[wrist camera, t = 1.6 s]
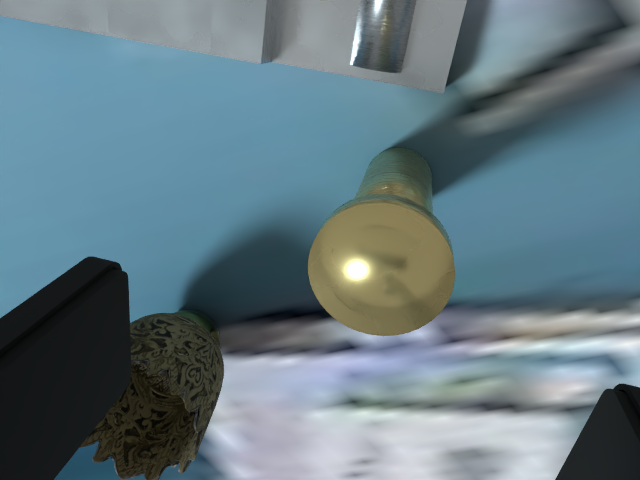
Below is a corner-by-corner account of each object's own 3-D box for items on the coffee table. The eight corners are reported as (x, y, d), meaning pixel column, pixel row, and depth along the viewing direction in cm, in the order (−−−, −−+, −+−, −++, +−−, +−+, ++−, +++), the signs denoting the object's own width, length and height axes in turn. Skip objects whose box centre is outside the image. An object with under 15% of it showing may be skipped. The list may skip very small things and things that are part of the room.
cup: (211, 259, 27) (134, 340, 20) (275, 359, 29) (226, 466, 22) (119, 301, 30) (22, 386, 23) (183, 391, 32) (112, 495, 25)
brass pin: (455, 145, 22) (473, 223, 13) (431, 230, 24) (433, 350, 15) (362, 126, 23) (319, 190, 14) (346, 212, 25) (299, 316, 16)
